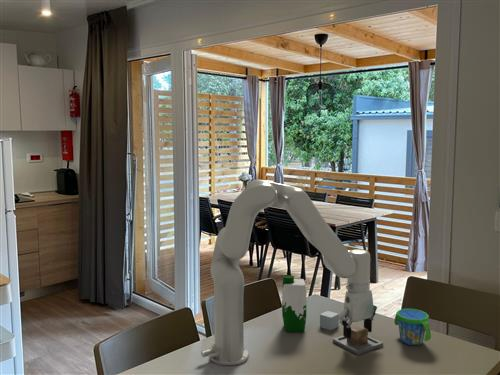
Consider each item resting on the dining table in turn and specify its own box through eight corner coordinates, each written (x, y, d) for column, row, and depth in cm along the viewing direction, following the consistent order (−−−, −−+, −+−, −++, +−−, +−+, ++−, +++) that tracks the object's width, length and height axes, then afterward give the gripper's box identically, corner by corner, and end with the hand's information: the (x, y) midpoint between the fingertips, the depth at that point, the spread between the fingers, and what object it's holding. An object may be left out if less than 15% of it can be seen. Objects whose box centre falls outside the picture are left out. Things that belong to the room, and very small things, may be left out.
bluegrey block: (331, 330, 179) (331, 317, 179) (319, 327, 183) (319, 314, 182) (338, 326, 183) (338, 313, 182) (327, 323, 186) (327, 310, 186)
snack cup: (439, 349, 163) (440, 320, 162) (412, 353, 160) (413, 324, 159) (410, 331, 178) (411, 304, 177) (385, 335, 175) (386, 307, 174)
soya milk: (281, 323, 186) (281, 273, 184) (305, 323, 186) (305, 273, 184) (282, 333, 177) (282, 280, 175) (307, 333, 177) (307, 280, 175)
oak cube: (357, 346, 164) (357, 332, 163) (346, 341, 168) (347, 327, 168) (367, 343, 167) (367, 329, 166) (357, 338, 171) (357, 324, 170)
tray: (357, 355, 159) (357, 351, 159) (332, 341, 169) (332, 338, 169) (383, 346, 166) (383, 342, 165) (357, 334, 176) (357, 330, 176)
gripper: (347, 293, 157) (346, 344, 159) (384, 284, 167) (383, 332, 168) (331, 287, 164) (331, 336, 166) (368, 279, 173) (367, 325, 175)
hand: (357, 334), depth 167 cm, fingers open, 9 cm apart
